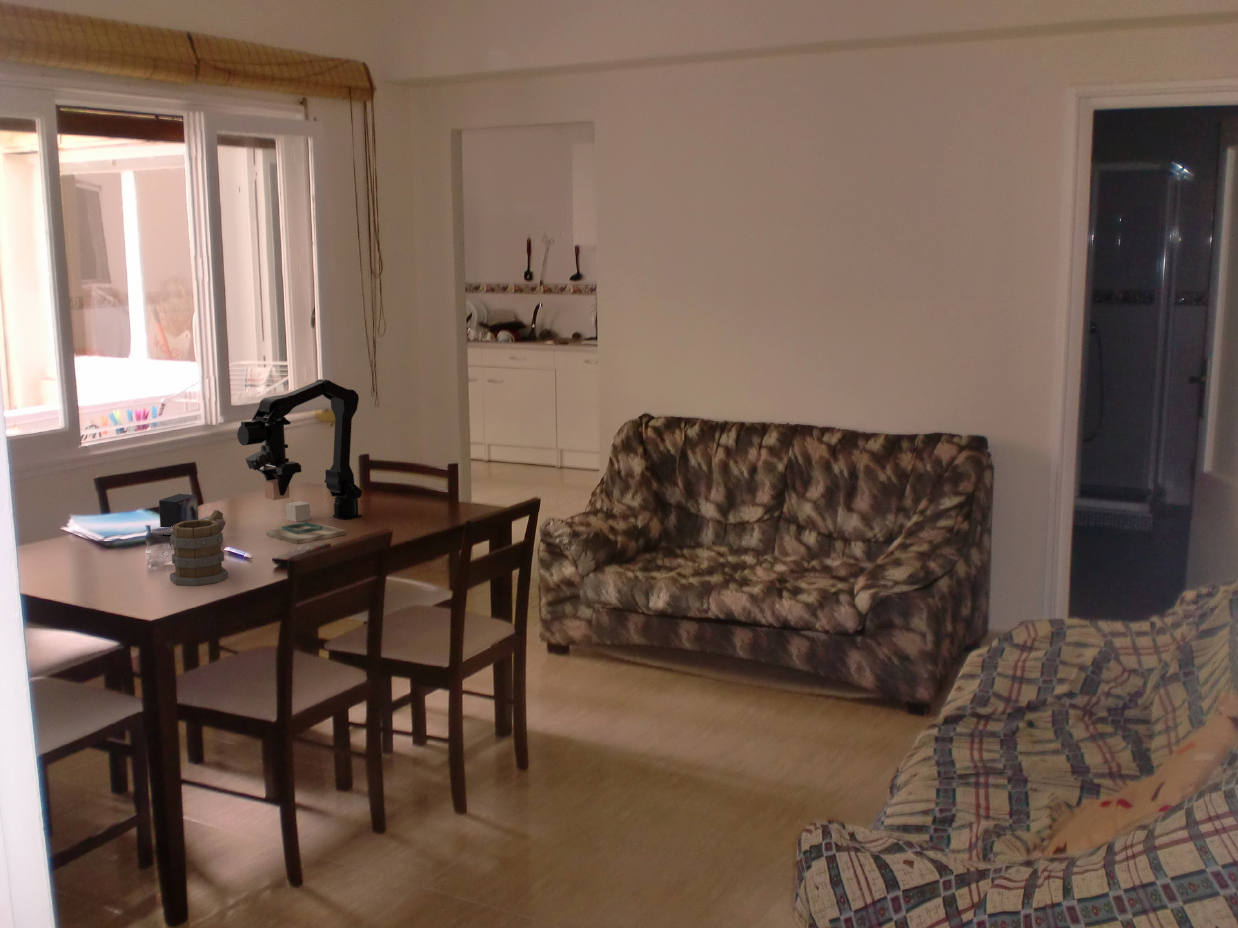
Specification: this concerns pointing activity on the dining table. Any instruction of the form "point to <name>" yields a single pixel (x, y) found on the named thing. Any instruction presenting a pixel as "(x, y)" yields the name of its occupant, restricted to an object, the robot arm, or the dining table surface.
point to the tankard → (198, 552)
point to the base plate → (305, 532)
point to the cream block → (298, 511)
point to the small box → (178, 509)
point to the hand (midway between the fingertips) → (277, 494)
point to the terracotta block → (274, 490)
